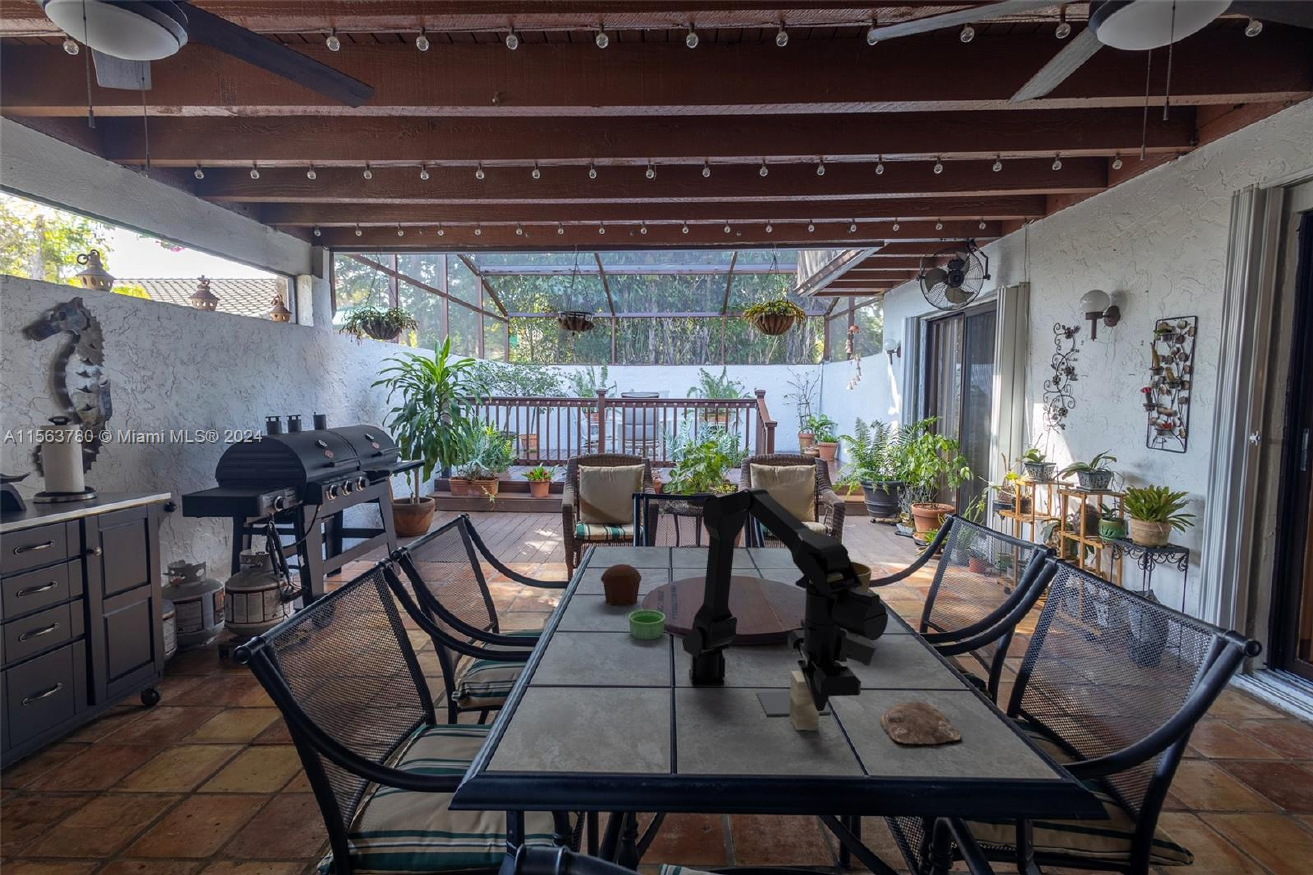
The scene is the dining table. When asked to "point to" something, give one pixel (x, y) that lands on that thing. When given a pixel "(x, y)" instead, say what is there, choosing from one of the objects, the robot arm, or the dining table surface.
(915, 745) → the shell
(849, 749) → the dining table surface
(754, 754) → the dining table surface
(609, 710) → the dining table surface
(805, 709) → the oak block
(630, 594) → the muffin
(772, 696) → the mat
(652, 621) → the ramekin
